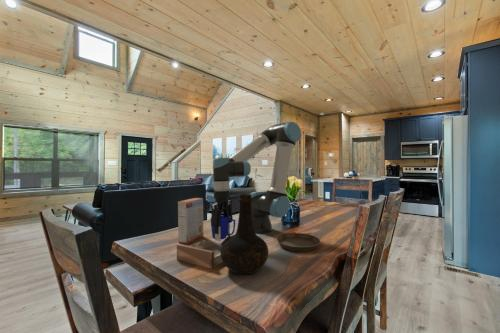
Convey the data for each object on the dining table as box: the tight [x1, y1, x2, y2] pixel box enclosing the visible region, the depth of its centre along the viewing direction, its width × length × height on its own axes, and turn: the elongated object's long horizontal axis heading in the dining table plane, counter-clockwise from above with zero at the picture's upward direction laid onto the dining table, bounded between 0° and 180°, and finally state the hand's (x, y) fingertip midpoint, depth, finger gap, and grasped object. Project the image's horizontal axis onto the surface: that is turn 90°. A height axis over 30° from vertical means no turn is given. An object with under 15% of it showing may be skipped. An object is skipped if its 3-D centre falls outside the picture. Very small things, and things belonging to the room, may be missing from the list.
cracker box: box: [177, 197, 204, 244], centre depth 125 cm, size 14×6×21 cm, turn 155°
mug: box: [209, 215, 236, 240], centre depth 114 cm, size 8×12×10 cm
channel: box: [176, 239, 224, 269], centre depth 101 cm, size 17×18×6 cm
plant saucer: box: [276, 232, 321, 252], centre depth 116 cm, size 21×21×3 cm
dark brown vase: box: [220, 193, 269, 275], centre depth 89 cm, size 18×18×28 cm
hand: (222, 238), depth 114 cm, fingers closed on mug, 7 cm apart
